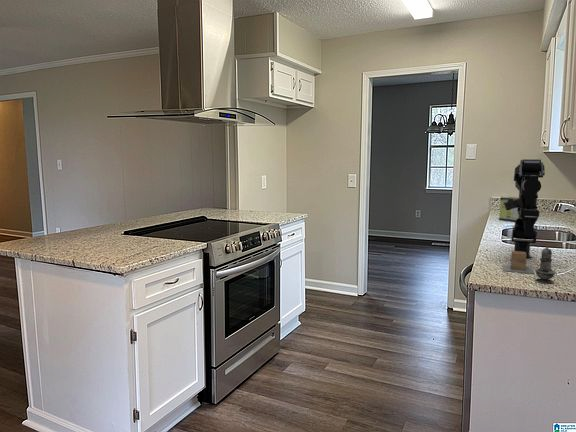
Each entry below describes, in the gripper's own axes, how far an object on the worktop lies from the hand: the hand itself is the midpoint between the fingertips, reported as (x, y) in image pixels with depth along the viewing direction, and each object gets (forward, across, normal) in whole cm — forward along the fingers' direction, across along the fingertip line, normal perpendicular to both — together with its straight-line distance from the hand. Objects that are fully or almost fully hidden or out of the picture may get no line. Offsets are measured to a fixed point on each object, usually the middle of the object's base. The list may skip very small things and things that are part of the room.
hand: (526, 232), depth 173 cm
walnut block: (+12, +14, -3) cm, 18 cm away
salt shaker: (+12, +28, +4) cm, 31 cm away
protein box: (+12, -133, +4) cm, 134 cm away
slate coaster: (+12, +14, -3) cm, 19 cm away
